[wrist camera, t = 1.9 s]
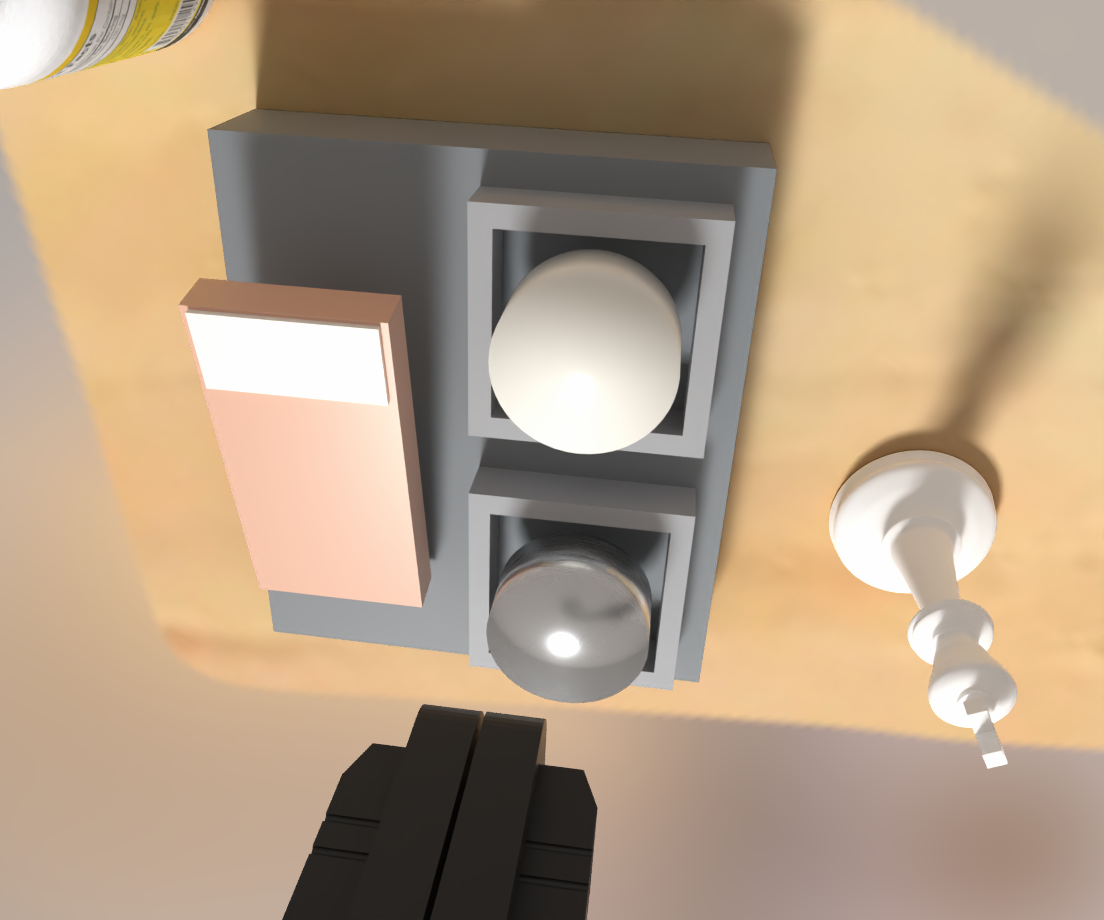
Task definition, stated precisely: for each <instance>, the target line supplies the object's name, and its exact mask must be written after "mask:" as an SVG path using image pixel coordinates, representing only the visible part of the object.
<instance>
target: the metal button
mask: <svg viewBox="0 0 1104 920" xmlns="http://www.w3.org/2000/svg"><path fill="white" fill-rule="evenodd" d="M651 606H652V594H651V588H650V584H649V581H648V579H647V577H646V574H645V572H644V571H643V569H642V568H641V566H640V565H639V564H638V562H637V561H636V560H635V559H634V558H633V557H632V556H631V555H630V554H629V553H627V552H626V551H625V550H624V549H622V548H621V547H619V546H618V545H616V544H614V543H612V542H610V541H608V540H606V539H603V538H601V537H597V536H594V535H590V534H585V533H578V532H561V533H554V534H548V535H545V536H541V537H538V538H536V539H534V540H532V541H530V542H528V543H526V544H525V545H523V546H522V547H521V548H519V549H518V550H517V551H516V552H515V553H514V554H513V555H512V556H511V557H510V559H509V560H508V562H507V563H506V565H505V567H504V569H503V572H502V575H501V578H500V581H499V585H498V588H497V591H496V595H495V598H494V601H493V605H492V608H491V611H490V615H489V618H488V622H487V630H486V635H487V643H488V647H489V650H490V653H491V655H492V657H493V659H494V661H495V662H496V664H497V665H498V667H499V668H500V669H501V671H502V672H503V673H504V674H505V675H506V676H507V677H508V678H509V679H510V680H512V681H513V682H514V683H515V684H517V685H518V686H520V687H521V688H523V689H524V690H526V691H528V692H530V693H532V694H535V695H537V696H540V697H542V698H546V699H549V700H553V701H559V702H566V703H585V702H593V701H597V700H602V699H605V698H607V697H610V696H613V695H615V694H617V693H619V692H620V691H622V690H623V689H625V688H626V687H628V686H629V685H630V684H631V683H632V682H633V681H634V680H635V679H636V678H637V677H638V675H639V674H640V673H641V671H642V669H643V667H644V665H645V663H646V660H647V656H648V650H649V635H650V621H651Z"/></svg>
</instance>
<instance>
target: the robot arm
mask: <svg viewBox="0 0 1104 920" xmlns="http://www.w3.org/2000/svg"><path fill="white" fill-rule="evenodd" d="M545 746H546V719H540V718H533V717H525V716H517V715H509V714H501V713H493V712H486V714H485V716H484V714H483V712H482V711H474V710H466V709H458V708H450V707H442V706H434V705H426V704H424V705H422V707H421V708H420V710H419V712H418V715H417V717H416V720H415V723H414V726H413V729H412V732H411V735H410V737H409V740H408V743H407V746H406V747H397V746H390V745H382V744H372V745H371V746H370V747H369V748H368V749H367V750H366V751H365V752H364V753H363V754H362V755H361V756H360V757H359V758H358V759H357V760H356V761H355V762H354V763H353V764H352V765H351V766H350V767H349V768H348V769H347V770H346V771H345V772H344V773H343V774H342V776H341V778H340V781H339V783H338V786H337V788H336V790H335V793H334V795H333V798H332V800H331V803H330V805H329V807H328V810H327V812H326V818H325V821H323V822H322V825H321V827H320V829H319V832H318V834H317V837H316V839H315V841H314V844H313V850H312V853H311V854H309V856H308V859H307V861H306V863H305V866H304V868H303V871H302V873H301V876H300V878H299V880H298V883H297V885H296V888H295V890H294V892H293V895H292V897H291V900H290V902H289V905H288V907H287V909H286V912H285V914H284V917H283V919H282V920H587V913H588V903H589V894H590V884H591V873H592V861H593V851H594V840H595V829H596V817H597V805H596V803H595V800H594V797H593V795H592V792H591V789H590V786H589V784H588V781H587V778H586V775H585V773H584V771H583V770H579V769H571V768H563V767H556V766H548V765H545Z"/></svg>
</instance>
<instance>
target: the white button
mask: <svg viewBox="0 0 1104 920" xmlns="http://www.w3.org/2000/svg"><path fill="white" fill-rule="evenodd" d="M681 338H682V331H681V322H680V318H679V314H678V310H677V308H676V305H675V303H674V300H673V299H672V297H671V295H670V293H669V291H668V290H667V289H666V287H665V286H664V285H663V283H662V282H661V281H660V280H659V279H658V278H657V277H656V276H655V275H654V274H653V273H652V272H651V271H650V270H648V269H647V268H646V267H644V266H643V265H641V264H640V263H638V262H636V261H635V260H633V259H631V258H628V257H626V256H624V255H621V254H618V253H614V252H610V251H604V250H597V249H583V250H574V251H570V252H566V253H562V254H559V255H556V256H554V257H551V258H549V259H548V260H546V261H544V262H542V263H540V264H539V265H538V266H536V267H535V268H534V269H532V270H531V271H530V272H529V273H528V274H527V275H526V276H525V277H524V278H523V279H522V280H521V282H520V283H519V284H518V286H517V287H516V289H515V290H514V292H513V294H512V296H511V298H510V300H509V302H508V304H507V306H506V308H505V310H504V312H503V314H502V316H501V318H500V320H499V322H498V324H497V326H496V328H495V331H494V334H493V336H492V339H491V344H490V348H489V358H488V364H489V375H490V380H491V384H492V387H493V390H494V393H495V395H496V397H497V399H498V401H499V403H500V405H501V407H502V408H503V410H504V411H505V413H506V414H507V416H508V417H509V418H510V419H511V420H512V421H513V422H514V424H516V425H517V426H518V427H519V428H520V429H521V430H522V431H523V432H525V433H526V434H528V435H529V436H530V437H532V438H533V439H535V440H537V441H539V442H541V443H542V444H545V445H547V446H550V447H552V448H554V449H558V450H562V451H565V452H571V453H577V454H598V453H606V452H611V451H615V450H618V449H621V448H624V447H627V446H629V445H631V444H633V443H635V442H637V441H639V440H640V439H642V438H643V437H645V436H646V435H647V434H649V433H650V432H651V431H652V430H653V429H655V428H656V426H657V425H658V424H659V423H660V422H661V421H662V420H663V418H664V417H665V416H666V414H667V413H668V411H669V409H670V408H671V406H672V404H673V402H674V399H675V396H676V393H677V390H678V386H679V380H680V363H681Z"/></svg>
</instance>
